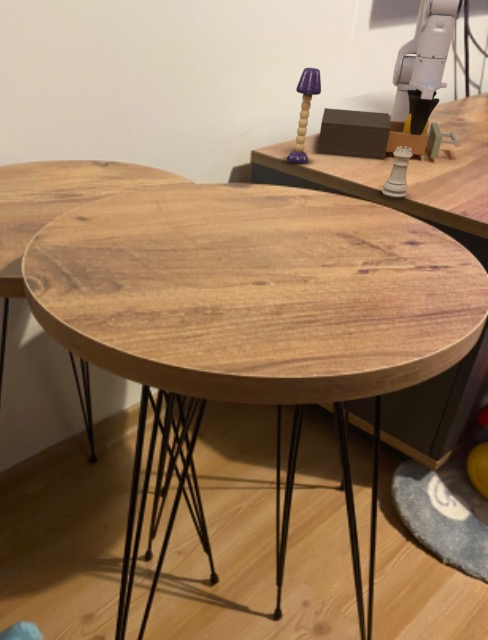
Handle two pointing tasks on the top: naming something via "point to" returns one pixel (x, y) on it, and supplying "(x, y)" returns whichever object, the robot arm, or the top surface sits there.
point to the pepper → (408, 122)
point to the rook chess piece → (398, 174)
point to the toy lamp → (305, 111)
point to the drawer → (419, 139)
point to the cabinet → (354, 133)
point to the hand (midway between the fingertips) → (414, 131)
